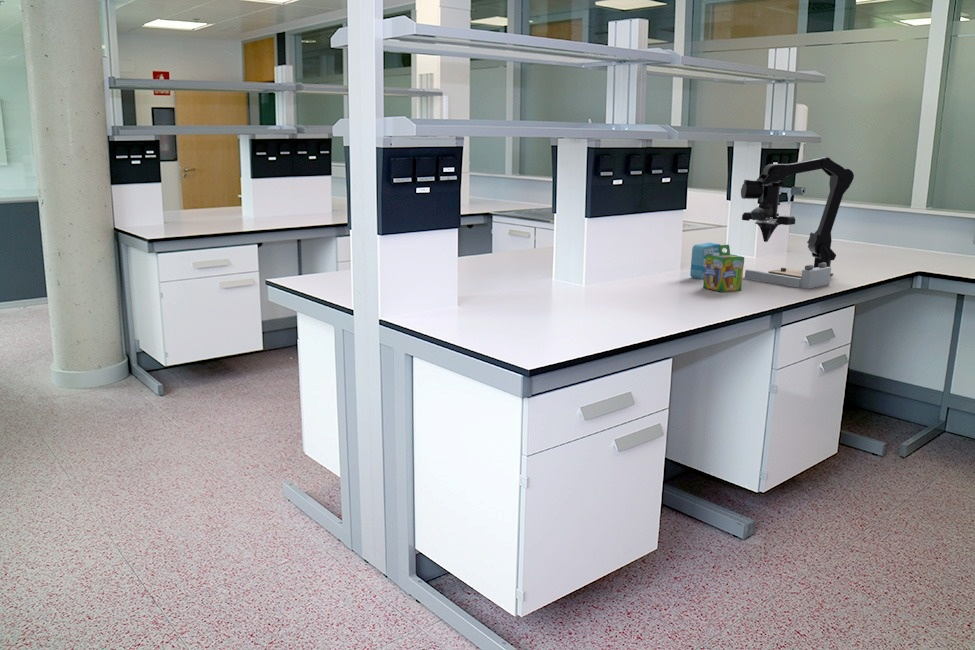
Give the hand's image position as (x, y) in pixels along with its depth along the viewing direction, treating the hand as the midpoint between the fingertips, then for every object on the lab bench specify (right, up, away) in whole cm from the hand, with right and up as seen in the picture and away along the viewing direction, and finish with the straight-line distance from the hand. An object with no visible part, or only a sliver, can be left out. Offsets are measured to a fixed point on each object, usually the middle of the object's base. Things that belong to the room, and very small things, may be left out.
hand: (765, 241), depth 294 cm
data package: (-25, -14, -7) cm, 29 cm away
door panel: (+5, -16, -13) cm, 21 cm away
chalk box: (-24, -19, -28) cm, 42 cm away
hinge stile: (+10, -17, -19) cm, 27 cm away
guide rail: (-3, -16, -14) cm, 22 cm away
